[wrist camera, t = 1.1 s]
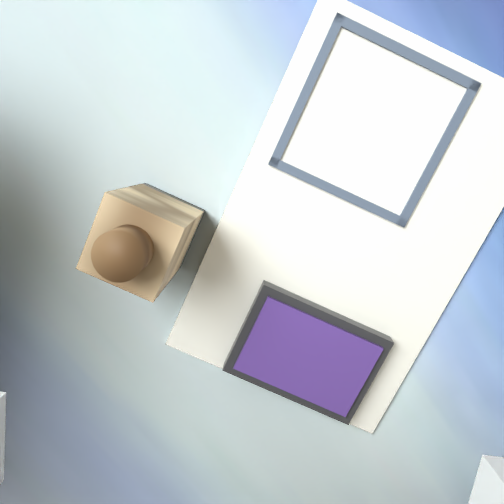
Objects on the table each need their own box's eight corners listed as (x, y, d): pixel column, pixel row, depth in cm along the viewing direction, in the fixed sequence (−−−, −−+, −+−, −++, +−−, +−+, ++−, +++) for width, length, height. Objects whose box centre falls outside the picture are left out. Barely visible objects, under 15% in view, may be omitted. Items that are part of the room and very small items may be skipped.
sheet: (166, 342, 34) (164, 345, 33) (322, -10, 28) (323, -13, 28) (371, 431, 35) (372, 435, 34) (558, 107, 29) (563, 106, 29)
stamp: (122, 241, 32) (59, 278, 22) (145, 183, 31) (90, 195, 22) (180, 267, 32) (143, 315, 23) (205, 210, 32) (177, 234, 22)
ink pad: (223, 362, 33) (221, 372, 32) (263, 279, 32) (263, 285, 31) (345, 415, 34) (349, 427, 33) (389, 336, 33) (395, 344, 31)
